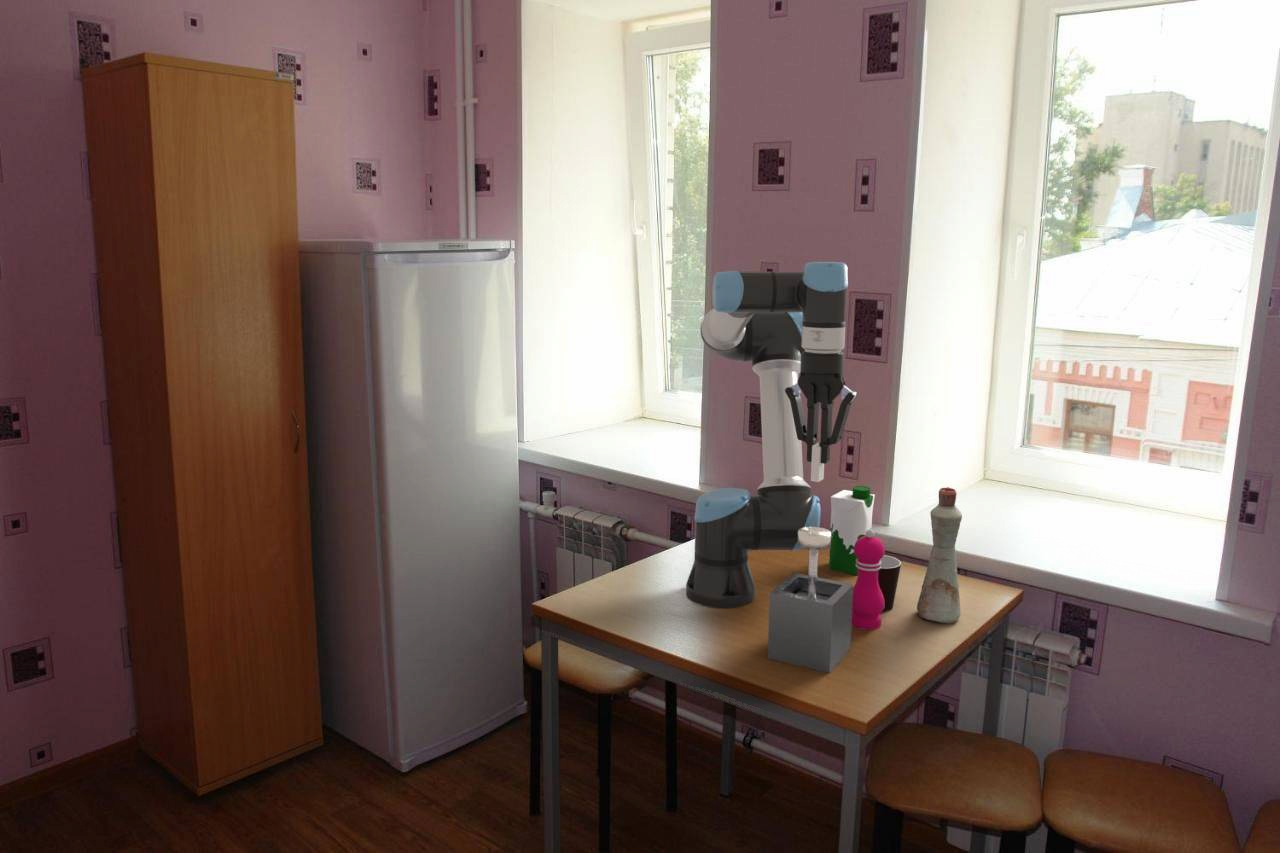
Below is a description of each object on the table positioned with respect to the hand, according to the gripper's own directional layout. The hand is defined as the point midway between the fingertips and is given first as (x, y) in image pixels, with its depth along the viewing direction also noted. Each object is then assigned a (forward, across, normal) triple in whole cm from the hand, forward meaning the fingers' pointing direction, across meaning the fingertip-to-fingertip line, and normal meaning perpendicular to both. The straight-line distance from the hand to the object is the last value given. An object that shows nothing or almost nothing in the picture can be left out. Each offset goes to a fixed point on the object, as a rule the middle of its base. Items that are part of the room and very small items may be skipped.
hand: (817, 479), depth 171 cm
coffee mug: (+34, +4, +31) cm, 47 cm away
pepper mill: (+34, +5, +19) cm, 40 cm away
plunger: (+25, 0, 0) cm, 25 cm away
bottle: (+34, +17, +30) cm, 49 cm away
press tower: (+34, 0, 0) cm, 34 cm away
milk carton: (+34, -8, +49) cm, 61 cm away
